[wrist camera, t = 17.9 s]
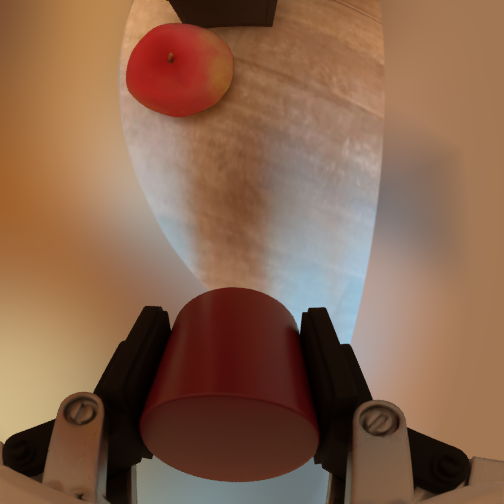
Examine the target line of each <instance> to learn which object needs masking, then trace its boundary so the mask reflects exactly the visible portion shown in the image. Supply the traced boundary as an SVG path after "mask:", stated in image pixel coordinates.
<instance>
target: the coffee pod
mask: <svg viewBox="0 0 504 504" xmlns="http://www.w3.org/2000/svg"><path fill="white" fill-rule="evenodd" d="M139 433H140V437H141V439H142V441H143V443H144V444H145V446H146V447H147V448H148V450H149V451H150V452H151V453H152V454H153V455H155V456H156V457H157V458H158V459H160V460H161V461H163V462H164V463H166V464H168V465H169V466H171V467H174V468H175V469H177V470H180V471H182V472H185V473H187V474H190V475H193V476H197V477H201V478H205V479H210V480H217V481H226V482H227V481H228V482H250V481H259V480H265V479H270V478H274V477H278V476H281V475H283V474H286V473H289V472H291V471H293V470H295V469H297V468H299V467H301V466H302V465H304V464H305V463H306V462H308V461H309V460H310V459H311V458H312V457H313V456H314V454H315V453H316V452H317V450H318V447H319V445H320V440H321V434H320V428H319V423H318V418H317V413H316V409H315V404H314V399H313V394H312V389H311V384H310V380H309V375H308V370H307V366H306V361H305V357H304V352H303V348H302V343H301V339H300V334H299V330H298V327H297V323H296V321H295V319H294V317H293V316H292V315H291V313H290V312H289V311H288V310H287V309H286V307H285V306H284V305H282V304H281V303H280V302H278V301H277V300H276V299H274V298H272V297H270V296H269V295H266V294H264V293H262V292H259V291H255V290H252V289H246V288H236V287H230V288H220V289H215V290H212V291H208V292H206V293H203V294H201V295H199V296H197V297H196V298H194V299H192V300H191V301H190V302H188V303H187V304H186V305H185V306H184V307H183V308H182V310H181V311H180V312H179V314H178V316H177V318H176V320H175V322H174V325H173V328H172V330H171V333H170V336H169V338H168V341H167V344H166V346H165V349H164V352H163V354H162V357H161V360H160V363H159V365H158V368H157V371H156V374H155V377H154V379H153V382H152V385H151V388H150V391H149V394H148V397H147V400H146V402H145V405H144V408H143V411H142V414H141V417H140V420H139Z"/></svg>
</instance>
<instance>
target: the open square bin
mask: <svg viewBox="0 0 504 504" xmlns="http://www.w3.org/2000/svg"><path fill="white" fill-rule="evenodd" d="M169 2H170V4H171V5H172V7H173V9H174V10H175V12H176V13H177V15H178V17H179V18H180V20H181V21H182V23H183V24H191V25H195V26H199V27H202V28H210V27H231V26H267V27H272V25H273V20H274V15H275V10H276V5H277V0H169Z"/></svg>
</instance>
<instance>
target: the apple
mask: <svg viewBox="0 0 504 504" xmlns="http://www.w3.org/2000/svg"><path fill="white" fill-rule="evenodd" d="M233 71H234V61H233V55H232V52H231V50H230V48H229V47H228V45H227V44H226V43H225V42H224V41H223V40H222V39H221V38H220V37H219V36H218V35H216V34H215V33H213V32H211V31H209V30H207V29H205V28H202V27H199V26H195V25H191V24H183V23H170V24H164V25H160V26H157V27H155V28H154V29H152V30H151V31H149V32H148V33H147V34H146V35H145V36H144V37H143V38H142V39H141V40H140V41H139V42H138V44H137V45H136V46H135V48H134V49H133V51H132V53H131V56H130V58H129V61H128V65H127V71H126V84H127V88H128V90H129V92H130V93H131V95H132V96H133V97H134V98H135V99H136V100H137V101H138V102H140V103H141V104H142V105H144V106H145V107H147V108H149V109H151V110H154V111H156V112H159V113H162V114H165V115H168V116H172V117H185V116H189V115H193V114H195V113H198V112H201V111H203V110H205V109H207V108H209V107H211V106H212V105H214V104H215V103H216V102H218V101H219V100H220V99H221V97H222V96H223V95H224V94H225V92H226V91H227V89H228V88H229V86H230V84H231V81H232V77H233Z"/></svg>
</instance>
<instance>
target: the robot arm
mask: <svg viewBox="0 0 504 504" xmlns="http://www.w3.org/2000/svg"><path fill="white" fill-rule="evenodd" d="M170 333H171V328H170V323H169V316H168V312H167V311H163V309H162V307H159V306H145V307H144V308H143V310H142V312H141V314H140V315H139V317H138V319H137V320H136V323H135V324H134V326H133V328H132V330H131V331H130V333H129V335H128V337H127V339H126V340H125V341H122V342H121V343H120V344H119V345H118V348H117V349H116V351H115V353H114V354H113V356H112V358H111V360H110V362H109V364H108V366H107V367H106V369H105V371H104V373H103V375H102V377H101V379H100V381H99V383H98V384H97V386H96V388H95V390H94V392H93V393H89V392H78V393H75V394H72V395H70V396H69V397H67V398H66V399H65V400H64V401H63V402H62V403H61V405H60V407H59V410H58V413H57V417H56V419H54V420H51V421H48V422H46V423H43V424H41V425H38V426H36V427H33V428H30V429H28V430H25V431H22V432H19V433H17V434H14V435H12V436H11V437H10V438H9V439H7V440H6V442H5V444H3V443H2V442H0V504H137V476H136V475H137V472H136V464H137V463H139V462H141V459H142V458H147V459H152V457H153V454H152V453H151V452H150V451H149V450H148V448H147V447H146V446H145V444H144V443H143V441H142V439H141V437H140V433H139V420H140V417H141V414H142V411H143V408H144V405H145V402H146V400H147V397H148V394H149V391H150V388H151V385H152V382H153V379H154V377H155V374H156V371H157V368H158V365H159V363H160V360H161V357H162V354H163V352H164V349H165V346H166V344H167V341H168V338H169V336H170ZM300 339H301V343H302V348H303V352H304V357H305V361H306V366H307V370H308V375H309V380H310V384H311V389H312V394H313V399H314V404H315V409H316V413H317V418H318V423H319V428H320V434H321V440H320V445H319V447H318V450H317V452H316V453H315V454H314V456H313V457H314V462H315V464H322V468H323V469H325V470H326V471H328V472H329V480H328V489H327V498H326V504H504V461H499V460H493V459H486V458H480V457H473V458H472V459H468V457H467V455H466V454H465V453H464V452H463V451H461V450H460V449H457V448H456V447H453V446H451V445H448V444H446V443H443V442H440V441H438V440H436V439H433V438H431V437H428V436H426V435H424V434H421V433H419V432H416V431H414V430H412V429H410V428H408V427H407V426H406V419H405V416H404V414H403V412H402V411H401V410H400V408H399V407H397V406H396V405H395V404H393V403H391V402H388V401H384V400H373V399H372V396H371V393H370V391H369V388H368V386H367V383H366V381H365V378H364V376H363V373H362V371H361V369H360V366H359V364H358V361H357V359H356V356H355V354H354V352H353V349H352V347H351V346H350V345H349V344H340V342H339V340H338V337H337V335H336V332H335V330H334V327H333V324H332V322H331V319H330V317H329V314H328V312H327V309H326V308H325V307H320V308H309V309H308V312H303V313H302V320H301V329H300Z"/></svg>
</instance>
